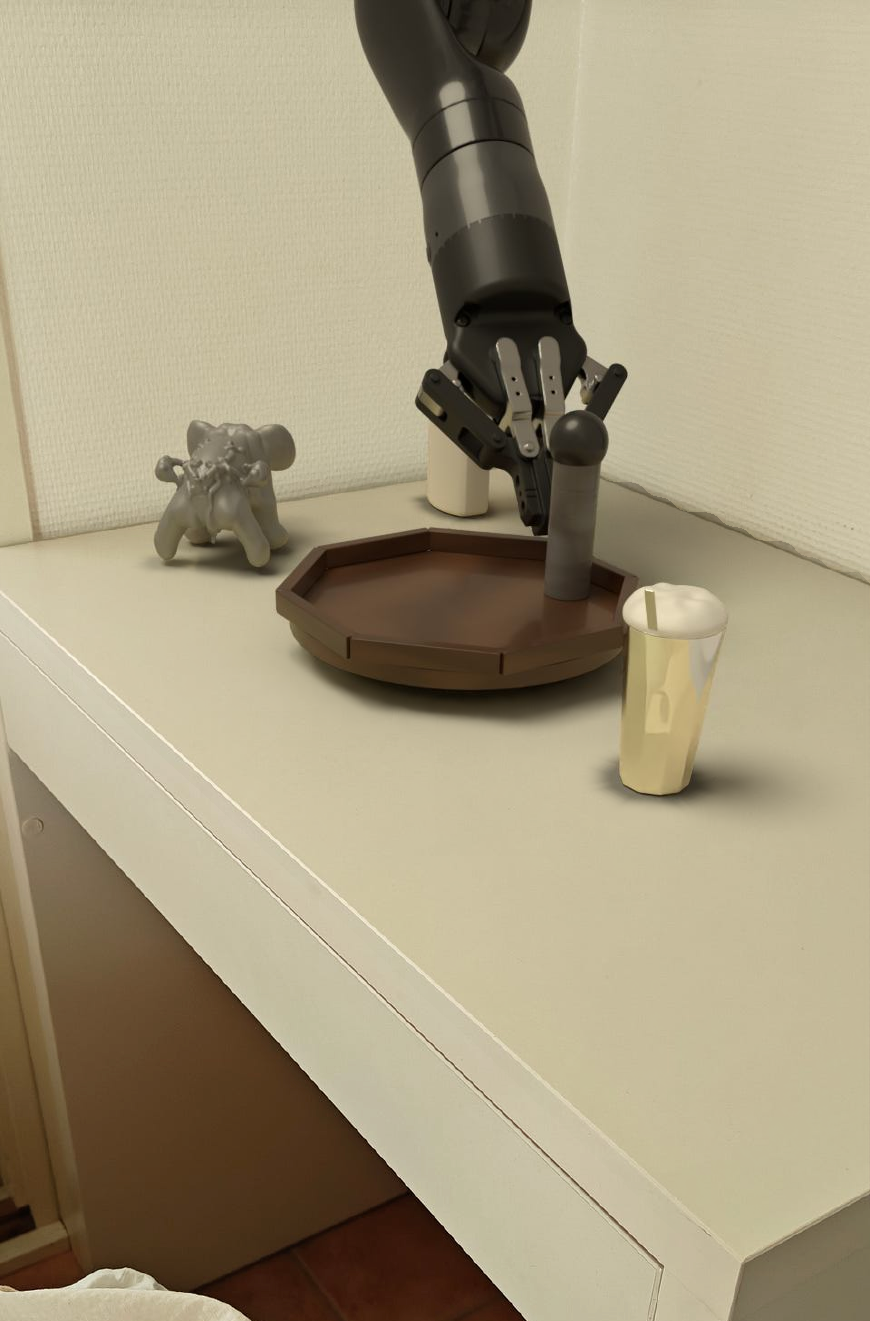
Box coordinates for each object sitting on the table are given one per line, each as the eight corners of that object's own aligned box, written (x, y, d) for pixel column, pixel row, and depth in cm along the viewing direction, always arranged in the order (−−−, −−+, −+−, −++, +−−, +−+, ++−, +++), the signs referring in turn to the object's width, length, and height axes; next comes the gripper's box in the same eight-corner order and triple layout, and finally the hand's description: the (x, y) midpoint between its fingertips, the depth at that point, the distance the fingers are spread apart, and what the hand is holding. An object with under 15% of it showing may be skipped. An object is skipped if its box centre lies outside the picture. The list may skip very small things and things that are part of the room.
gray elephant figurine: (152, 577, 85) (141, 450, 81) (164, 519, 95) (154, 404, 91) (300, 575, 86) (296, 450, 82) (297, 518, 96) (293, 404, 92)
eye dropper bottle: (484, 496, 102) (492, 322, 95) (488, 519, 97) (497, 337, 90) (426, 495, 102) (430, 320, 95) (427, 517, 97) (431, 335, 90)
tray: (643, 582, 82) (664, 391, 76) (611, 708, 67) (635, 482, 61) (340, 554, 85) (337, 368, 79) (243, 668, 70) (230, 448, 64)
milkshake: (579, 791, 63) (600, 578, 57) (632, 750, 66) (656, 546, 61) (669, 819, 61) (699, 602, 55) (718, 775, 64) (751, 567, 59)
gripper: (398, 208, 74) (457, 503, 72) (621, 208, 78) (684, 489, 75) (372, 297, 81) (425, 567, 79) (576, 293, 85) (633, 552, 82)
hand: (551, 528), depth 77 cm, fingers closed
